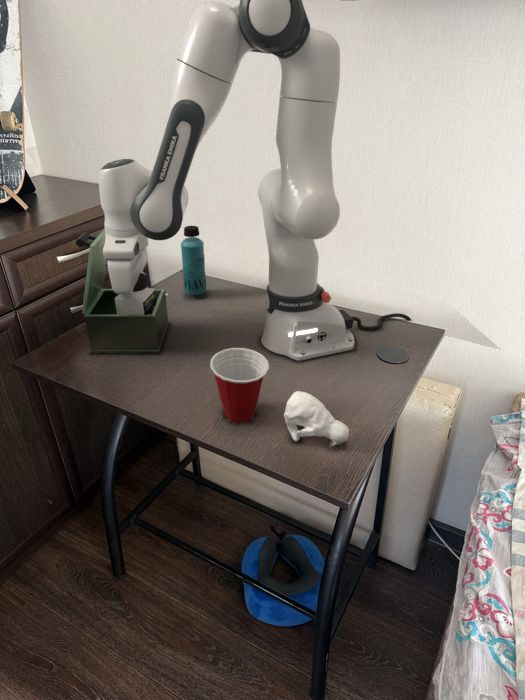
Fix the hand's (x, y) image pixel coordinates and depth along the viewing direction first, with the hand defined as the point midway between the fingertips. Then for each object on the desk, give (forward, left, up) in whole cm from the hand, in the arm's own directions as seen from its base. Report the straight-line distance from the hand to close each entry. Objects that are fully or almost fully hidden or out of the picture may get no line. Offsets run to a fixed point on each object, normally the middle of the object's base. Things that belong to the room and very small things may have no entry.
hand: (134, 295), depth 117 cm
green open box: (+2, 0, -11) cm, 12 cm away
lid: (+7, -1, +7) cm, 10 cm away
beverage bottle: (-15, -22, -12) cm, 29 cm away
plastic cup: (-20, +34, -12) cm, 41 cm away
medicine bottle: (0, 0, -7) cm, 7 cm away
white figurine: (-33, +43, -12) cm, 55 cm away
